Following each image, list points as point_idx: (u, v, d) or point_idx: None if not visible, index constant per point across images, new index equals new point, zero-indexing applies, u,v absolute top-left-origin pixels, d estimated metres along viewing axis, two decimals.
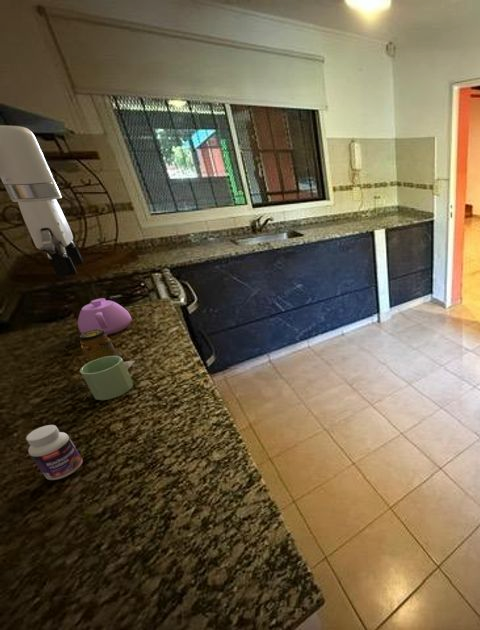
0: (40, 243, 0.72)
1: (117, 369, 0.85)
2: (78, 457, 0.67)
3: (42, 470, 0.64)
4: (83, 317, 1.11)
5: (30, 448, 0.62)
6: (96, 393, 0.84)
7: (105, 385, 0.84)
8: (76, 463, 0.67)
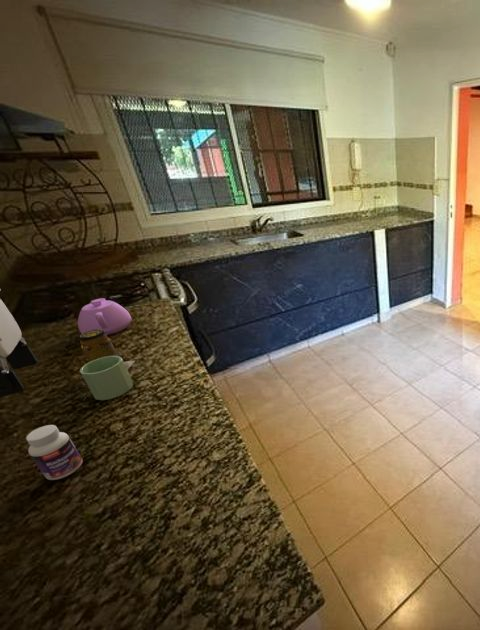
0: None
1: (117, 369, 0.85)
2: (78, 457, 0.67)
3: (42, 470, 0.64)
4: (83, 317, 1.11)
5: (30, 448, 0.62)
6: (96, 393, 0.84)
7: (105, 385, 0.84)
8: (76, 463, 0.67)
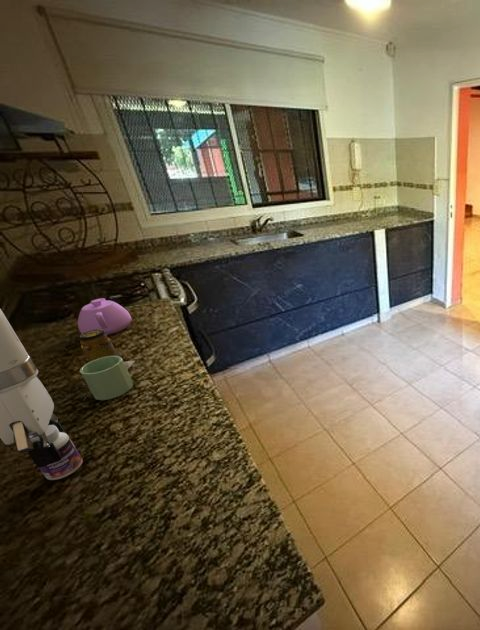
0: (9, 440, 0.57)
1: (117, 369, 0.85)
2: (78, 457, 0.67)
3: (42, 470, 0.64)
4: (83, 317, 1.11)
5: None
6: (96, 393, 0.84)
7: (105, 385, 0.84)
8: (76, 463, 0.67)
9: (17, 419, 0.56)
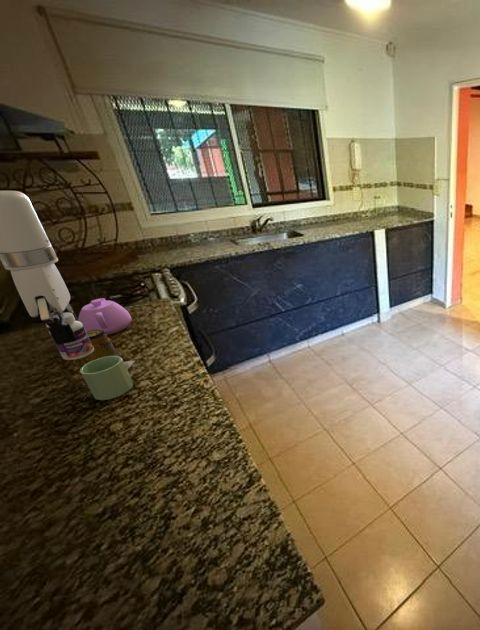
0: (34, 311, 0.67)
1: (117, 369, 0.85)
2: (91, 344, 0.78)
3: (60, 349, 0.74)
4: (83, 317, 1.11)
5: None
6: (96, 393, 0.84)
7: (105, 385, 0.84)
8: (88, 348, 0.77)
9: (41, 294, 0.67)
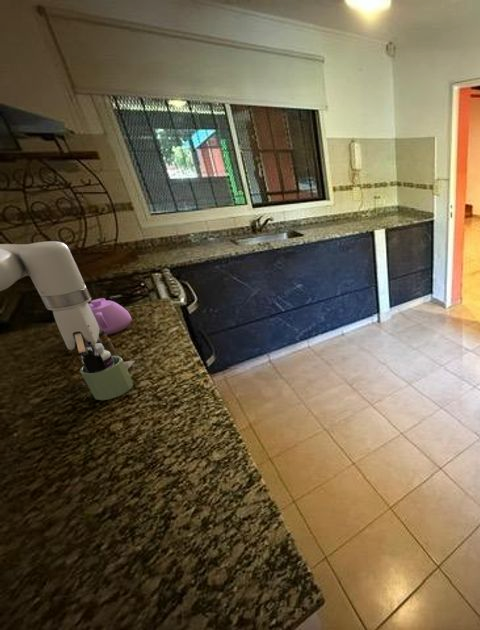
0: (71, 345, 0.77)
1: (117, 369, 0.85)
2: None
3: None
4: None
5: None
6: (96, 393, 0.84)
7: (105, 385, 0.84)
8: None
9: (78, 330, 0.77)
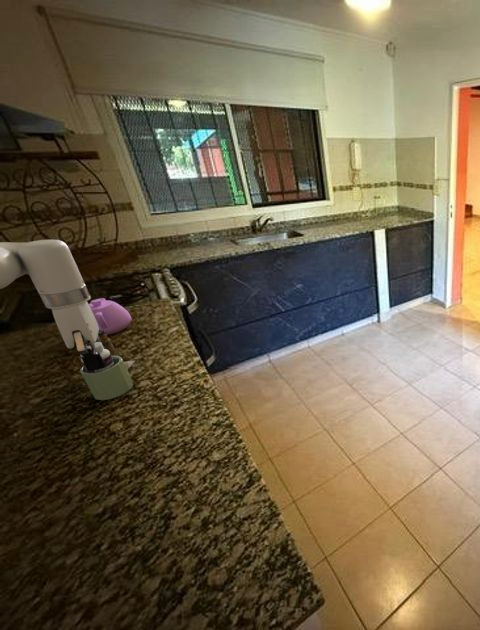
0: (71, 344, 0.77)
1: (117, 369, 0.85)
2: None
3: None
4: None
5: None
6: (96, 393, 0.84)
7: (105, 385, 0.84)
8: None
9: (77, 328, 0.76)
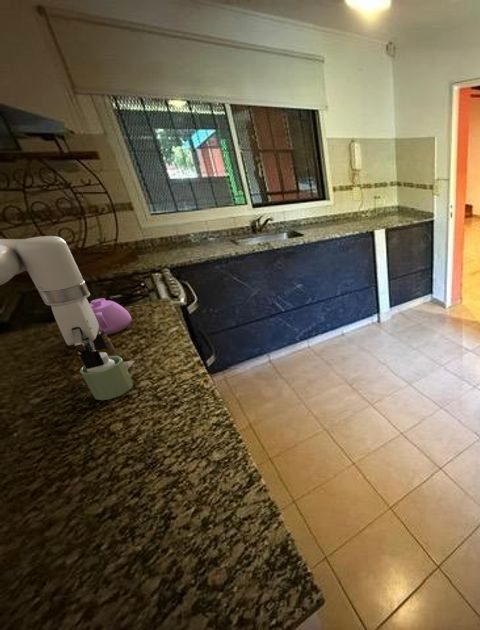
0: (71, 341, 0.76)
1: (117, 369, 0.85)
2: None
3: None
4: None
5: None
6: (96, 393, 0.84)
7: (105, 385, 0.84)
8: None
9: (77, 325, 0.76)
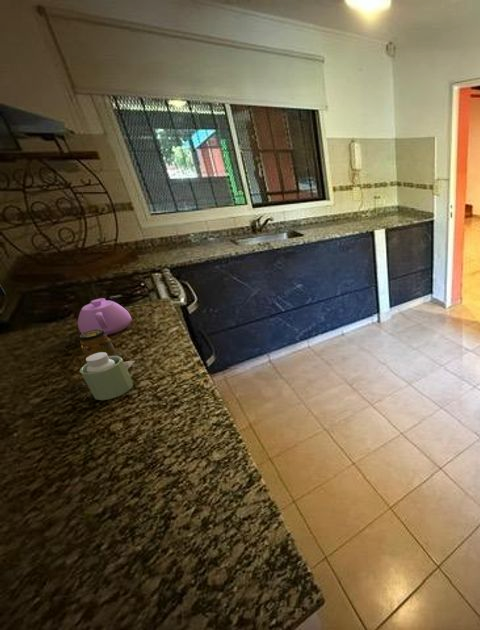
0: None
1: (117, 369, 0.85)
2: None
3: None
4: (83, 317, 1.11)
5: (88, 368, 0.83)
6: (96, 393, 0.84)
7: (105, 385, 0.84)
8: None
9: None
